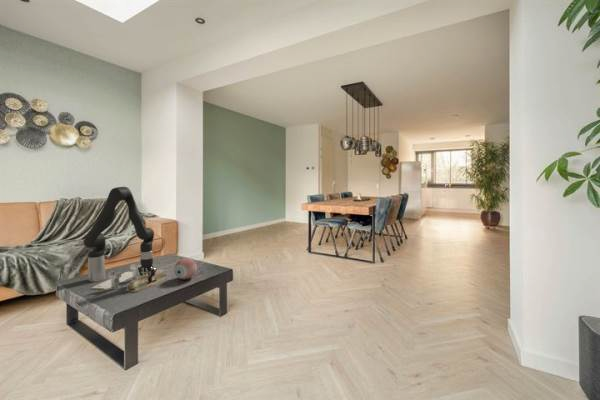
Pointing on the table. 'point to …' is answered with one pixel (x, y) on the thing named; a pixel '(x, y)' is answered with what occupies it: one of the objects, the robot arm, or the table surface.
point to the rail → (144, 279)
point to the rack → (146, 284)
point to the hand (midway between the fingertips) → (147, 281)
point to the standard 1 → (114, 279)
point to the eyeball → (185, 268)
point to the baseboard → (107, 283)
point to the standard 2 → (135, 271)
